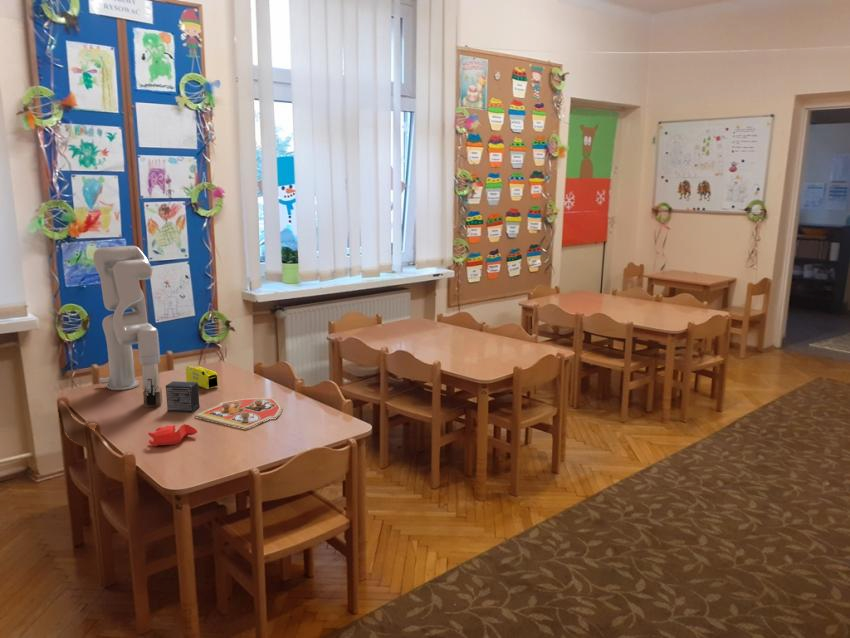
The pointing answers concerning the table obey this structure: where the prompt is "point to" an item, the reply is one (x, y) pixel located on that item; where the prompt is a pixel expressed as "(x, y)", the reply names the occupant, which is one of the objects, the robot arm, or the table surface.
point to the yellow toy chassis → (202, 377)
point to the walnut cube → (158, 397)
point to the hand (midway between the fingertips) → (153, 400)
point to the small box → (182, 396)
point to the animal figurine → (170, 435)
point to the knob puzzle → (243, 412)
